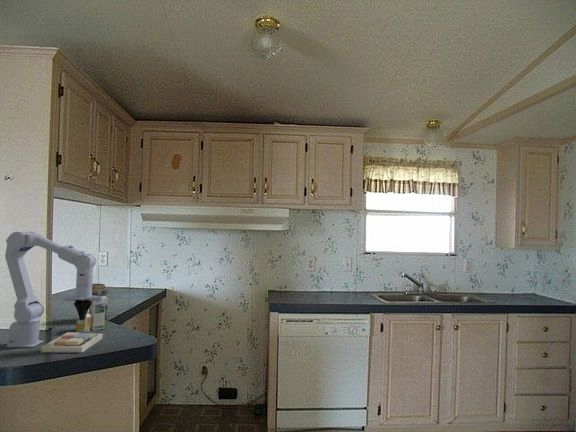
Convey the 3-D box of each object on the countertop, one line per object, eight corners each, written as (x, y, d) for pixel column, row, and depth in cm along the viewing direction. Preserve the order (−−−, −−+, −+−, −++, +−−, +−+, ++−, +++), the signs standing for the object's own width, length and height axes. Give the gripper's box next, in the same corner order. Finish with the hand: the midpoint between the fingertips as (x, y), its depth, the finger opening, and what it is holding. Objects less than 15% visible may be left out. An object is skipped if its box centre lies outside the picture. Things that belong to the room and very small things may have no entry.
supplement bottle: (86, 329, 172) (87, 307, 173) (91, 331, 169) (93, 309, 169) (73, 331, 168) (75, 309, 168) (79, 334, 165) (80, 311, 165)
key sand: (65, 346, 141) (65, 341, 141) (71, 342, 146) (71, 338, 146) (77, 346, 142) (78, 341, 142) (83, 342, 146) (83, 338, 146)
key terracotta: (53, 347, 144) (54, 342, 144) (59, 343, 148) (60, 339, 148) (65, 347, 144) (66, 342, 144) (71, 343, 148) (71, 339, 148)
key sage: (79, 341, 152) (79, 336, 152) (84, 338, 157) (84, 333, 157) (90, 341, 153) (90, 336, 153) (95, 338, 157) (95, 333, 157)
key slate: (72, 341, 147) (72, 337, 147) (77, 338, 151) (78, 334, 151) (84, 342, 147) (84, 337, 147) (89, 338, 152) (89, 334, 152)
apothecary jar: (107, 317, 197) (109, 282, 198) (105, 322, 186) (107, 285, 187) (81, 318, 193) (83, 282, 194) (77, 323, 182) (80, 286, 183)
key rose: (61, 339, 149) (61, 335, 149) (67, 336, 154) (67, 332, 154) (73, 339, 150) (73, 335, 150) (78, 336, 154) (78, 332, 154)
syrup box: (92, 330, 171) (94, 298, 171) (89, 327, 175) (91, 296, 176) (106, 328, 174) (108, 297, 175) (102, 326, 179) (104, 295, 179)
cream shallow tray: (40, 352, 139) (40, 346, 139) (66, 338, 158) (66, 333, 158) (81, 352, 140) (82, 347, 140) (102, 338, 159) (102, 333, 159)
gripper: (59, 286, 146) (57, 321, 145) (99, 286, 147) (97, 322, 146) (68, 283, 153) (67, 317, 152) (106, 284, 154) (104, 318, 153)
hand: (82, 319), depth 150 cm, fingers closed
